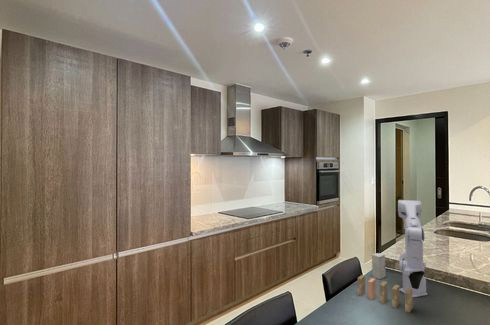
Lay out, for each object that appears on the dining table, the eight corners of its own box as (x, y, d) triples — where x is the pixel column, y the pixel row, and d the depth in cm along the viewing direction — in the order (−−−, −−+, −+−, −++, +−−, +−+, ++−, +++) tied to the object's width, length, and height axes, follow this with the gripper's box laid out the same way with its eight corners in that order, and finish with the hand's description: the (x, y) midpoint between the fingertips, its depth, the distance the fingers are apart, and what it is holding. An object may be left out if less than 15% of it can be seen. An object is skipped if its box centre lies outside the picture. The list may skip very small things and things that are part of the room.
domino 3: (387, 299, 123) (387, 282, 122) (383, 303, 119) (383, 285, 119) (383, 298, 124) (383, 281, 124) (380, 302, 120) (379, 284, 120)
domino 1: (365, 292, 130) (365, 275, 130) (361, 295, 126) (360, 279, 126) (361, 291, 131) (361, 274, 131) (357, 294, 127) (357, 277, 127)
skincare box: (379, 279, 143) (379, 257, 142) (371, 276, 146) (371, 254, 146) (386, 276, 146) (385, 254, 146) (378, 273, 150) (377, 252, 150)
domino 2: (375, 295, 126) (375, 278, 126) (371, 299, 123) (371, 282, 123) (372, 294, 127) (372, 277, 127) (368, 298, 124) (368, 281, 124)
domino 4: (399, 303, 119) (399, 285, 119) (396, 308, 115) (396, 289, 115) (395, 302, 120) (395, 284, 120) (392, 306, 117) (392, 288, 117)
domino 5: (412, 307, 115) (412, 289, 115) (409, 312, 112) (409, 293, 112) (408, 306, 117) (408, 288, 116) (405, 311, 113) (404, 292, 113)
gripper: (413, 249, 120) (413, 280, 120) (395, 256, 112) (396, 289, 112) (431, 254, 114) (431, 286, 114) (413, 261, 106) (414, 296, 106)
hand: (415, 288), depth 112 cm, fingers closed
